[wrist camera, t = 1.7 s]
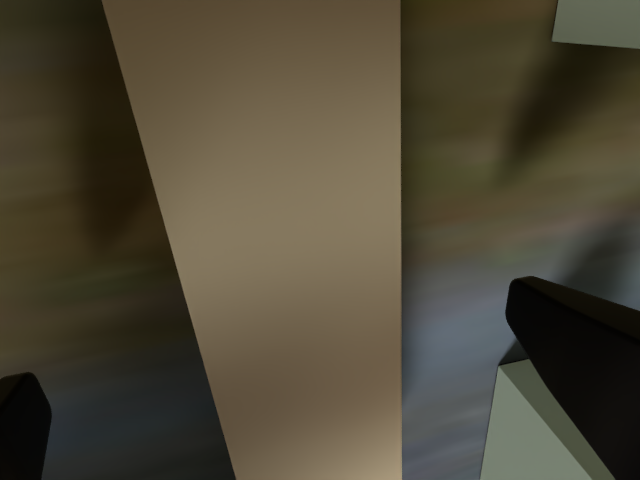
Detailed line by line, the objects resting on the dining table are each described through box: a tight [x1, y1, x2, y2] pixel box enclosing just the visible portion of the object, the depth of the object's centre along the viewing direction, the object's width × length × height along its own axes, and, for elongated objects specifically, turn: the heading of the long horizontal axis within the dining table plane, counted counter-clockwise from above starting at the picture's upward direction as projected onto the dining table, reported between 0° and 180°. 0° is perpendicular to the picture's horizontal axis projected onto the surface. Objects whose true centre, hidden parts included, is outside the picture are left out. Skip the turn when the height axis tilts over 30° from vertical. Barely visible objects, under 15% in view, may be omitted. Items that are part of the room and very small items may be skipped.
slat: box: [102, 0, 402, 480], centre depth 9 cm, size 15×3×4 cm, turn 5°
